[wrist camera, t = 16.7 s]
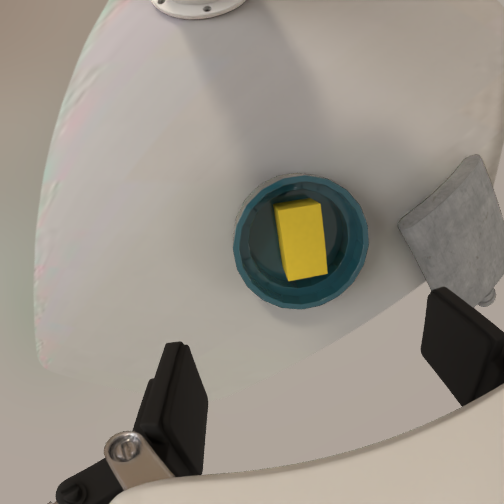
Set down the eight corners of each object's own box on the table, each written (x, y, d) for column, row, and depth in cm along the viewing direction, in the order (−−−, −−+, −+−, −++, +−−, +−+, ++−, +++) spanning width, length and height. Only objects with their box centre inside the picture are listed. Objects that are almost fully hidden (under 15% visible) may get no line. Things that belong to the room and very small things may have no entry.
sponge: (272, 203, 30) (277, 210, 26) (310, 197, 30) (320, 203, 26) (282, 267, 32) (288, 281, 29) (317, 260, 32) (328, 274, 29)
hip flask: (393, 225, 32) (444, 325, 37) (410, 234, 28) (458, 339, 34) (469, 153, 30) (505, 260, 35) (489, 155, 26) (521, 269, 31)
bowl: (223, 184, 30) (221, 189, 26) (346, 166, 30) (362, 167, 26) (246, 299, 34) (247, 319, 30) (355, 278, 34) (370, 294, 30)
